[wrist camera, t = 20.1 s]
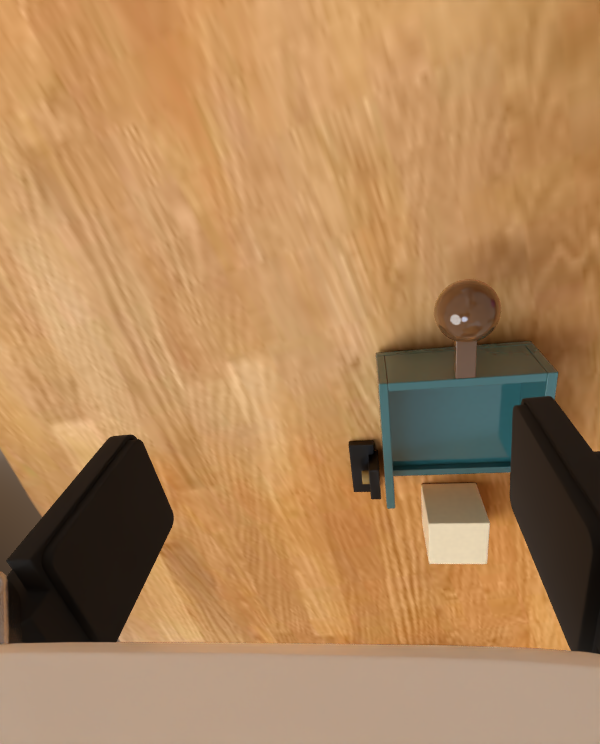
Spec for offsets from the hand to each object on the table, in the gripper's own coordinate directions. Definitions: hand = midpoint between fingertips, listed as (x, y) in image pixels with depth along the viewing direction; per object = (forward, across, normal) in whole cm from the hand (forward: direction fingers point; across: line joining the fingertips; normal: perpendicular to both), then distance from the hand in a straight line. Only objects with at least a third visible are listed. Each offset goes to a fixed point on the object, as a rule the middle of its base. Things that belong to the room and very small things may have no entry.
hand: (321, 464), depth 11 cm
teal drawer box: (+21, -6, +9) cm, 24 cm away
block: (+19, -6, +22) cm, 30 cm away
